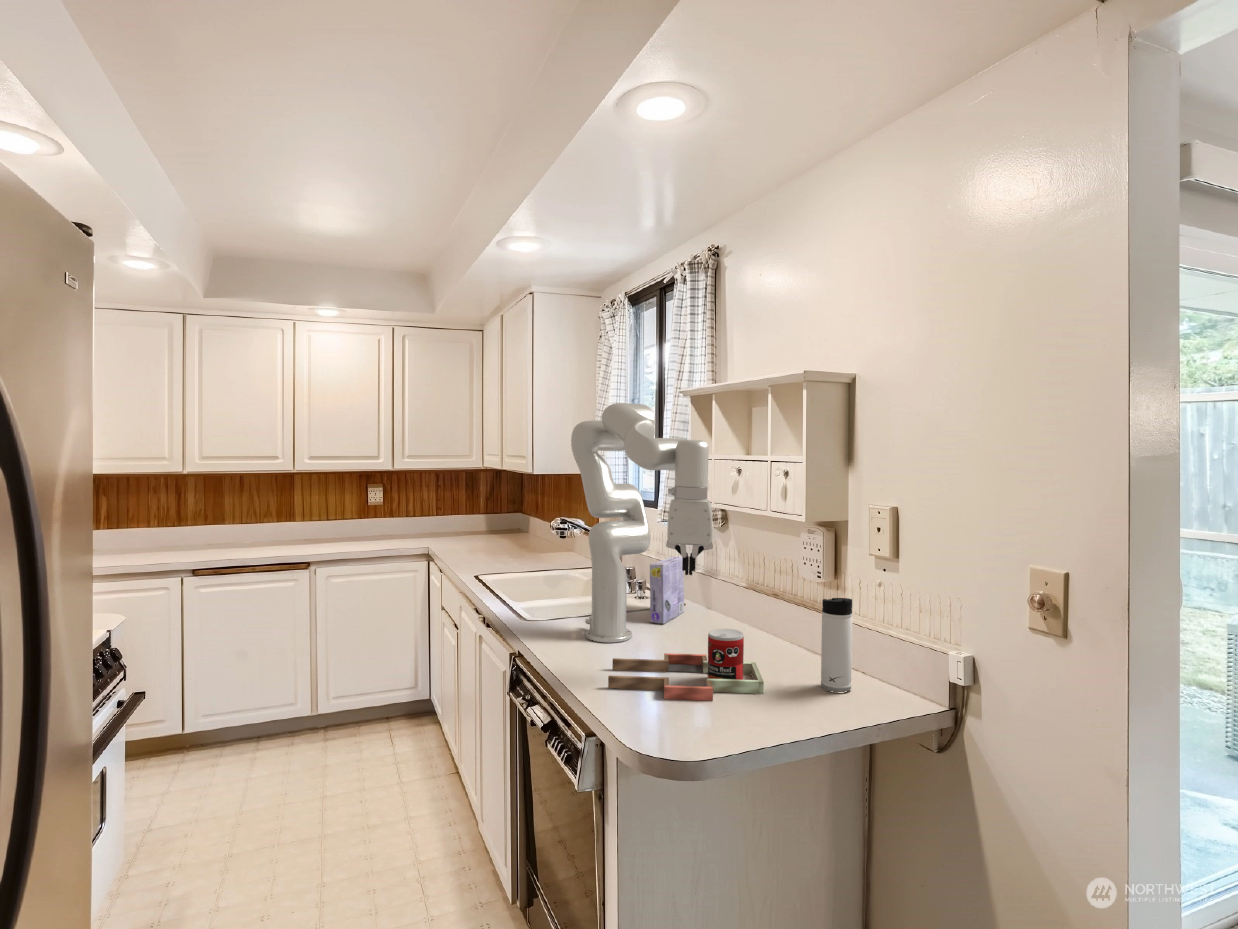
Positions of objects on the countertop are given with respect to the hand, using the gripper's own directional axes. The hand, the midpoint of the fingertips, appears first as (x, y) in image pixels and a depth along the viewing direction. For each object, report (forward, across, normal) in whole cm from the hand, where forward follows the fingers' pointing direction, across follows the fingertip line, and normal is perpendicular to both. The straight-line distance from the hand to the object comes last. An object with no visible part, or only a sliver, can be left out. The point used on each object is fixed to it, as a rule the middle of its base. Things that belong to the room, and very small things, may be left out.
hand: (688, 573), depth 155 cm
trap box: (+23, -1, -5) cm, 24 cm away
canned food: (+23, +9, -5) cm, 25 cm away
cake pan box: (+24, -5, +51) cm, 57 cm away
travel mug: (+23, +32, -7) cm, 40 cm away
